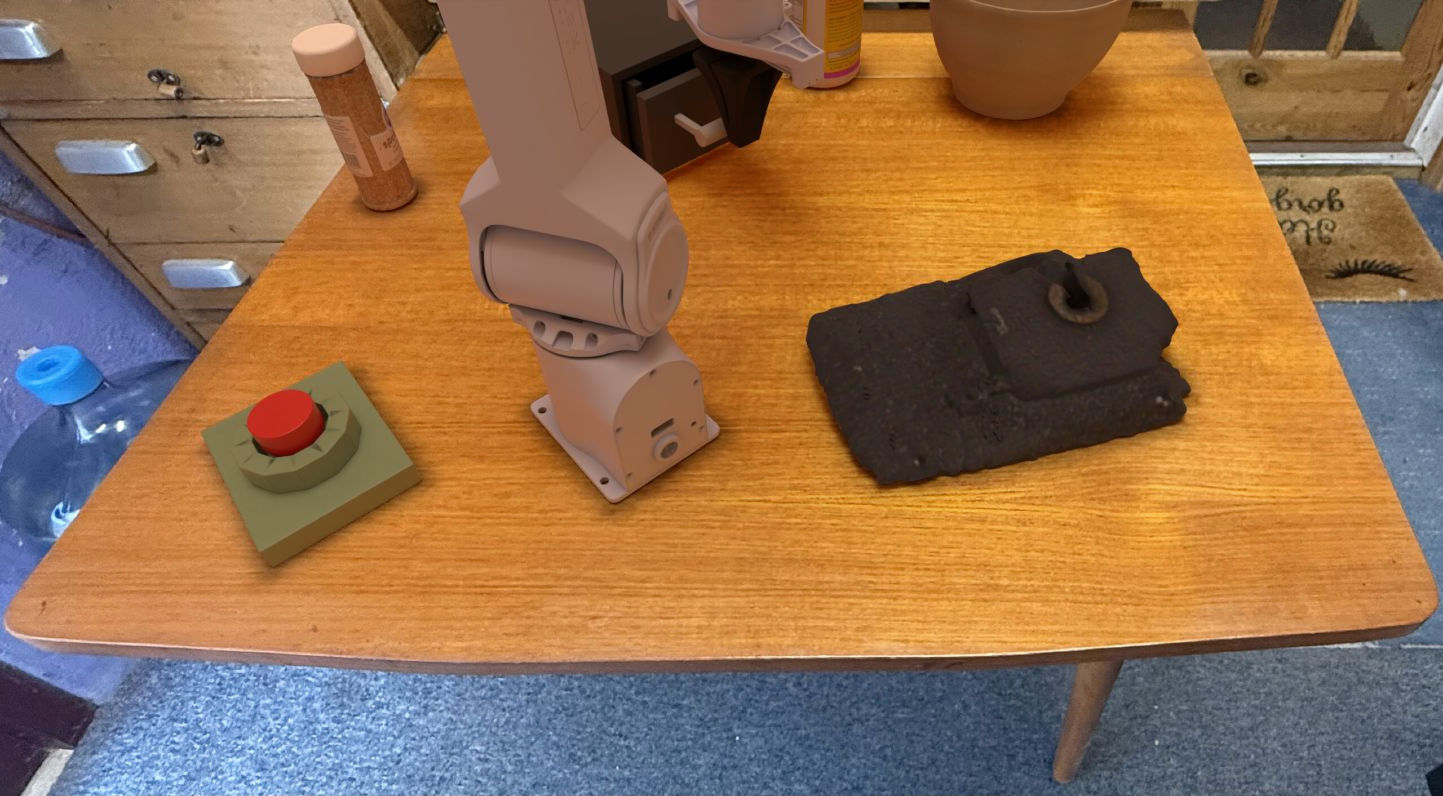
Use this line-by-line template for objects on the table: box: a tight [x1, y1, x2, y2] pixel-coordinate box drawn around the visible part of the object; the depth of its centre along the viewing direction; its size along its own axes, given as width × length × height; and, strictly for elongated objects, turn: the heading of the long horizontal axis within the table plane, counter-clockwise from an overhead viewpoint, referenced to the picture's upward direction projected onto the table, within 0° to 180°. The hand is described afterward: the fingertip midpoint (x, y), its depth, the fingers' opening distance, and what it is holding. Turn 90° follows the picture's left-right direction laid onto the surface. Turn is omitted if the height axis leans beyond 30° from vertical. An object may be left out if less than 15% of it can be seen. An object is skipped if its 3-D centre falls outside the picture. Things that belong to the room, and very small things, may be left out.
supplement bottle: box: [787, 0, 865, 89], centre depth 73 cm, size 7×7×13 cm
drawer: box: [621, 45, 768, 176], centre depth 68 cm, size 17×10×7 cm, turn 39°
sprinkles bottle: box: [290, 22, 418, 212], centre depth 63 cm, size 5×5×14 cm
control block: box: [200, 360, 423, 568], centre depth 49 cm, size 11×9×4 cm
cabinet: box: [583, 0, 705, 162], centre depth 71 cm, size 14×12×9 cm
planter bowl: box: [929, 0, 1135, 121], centre depth 69 cm, size 16×16×11 cm
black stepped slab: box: [805, 246, 1192, 484], centre depth 51 cm, size 15×22×5 cm
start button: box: [247, 389, 325, 457], centre depth 47 cm, size 4×4×2 cm
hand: (744, 140), depth 63 cm, fingers closed
